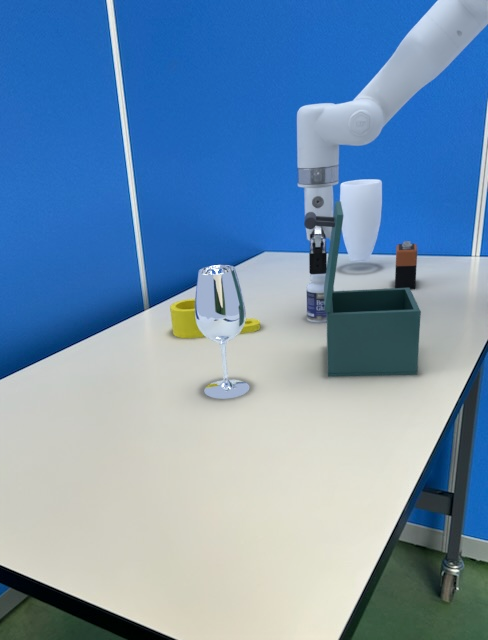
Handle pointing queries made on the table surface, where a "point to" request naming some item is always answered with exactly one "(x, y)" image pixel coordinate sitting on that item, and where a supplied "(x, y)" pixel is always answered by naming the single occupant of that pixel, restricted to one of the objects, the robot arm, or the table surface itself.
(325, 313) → the pill bottle
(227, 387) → the wineglass
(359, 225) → the cup
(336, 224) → the chest lid
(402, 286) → the battery
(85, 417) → the table surface
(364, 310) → the cool chest
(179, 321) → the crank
